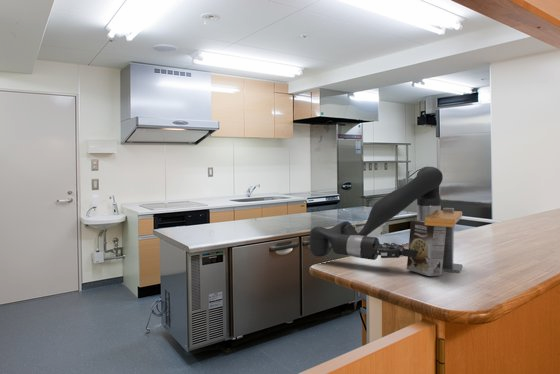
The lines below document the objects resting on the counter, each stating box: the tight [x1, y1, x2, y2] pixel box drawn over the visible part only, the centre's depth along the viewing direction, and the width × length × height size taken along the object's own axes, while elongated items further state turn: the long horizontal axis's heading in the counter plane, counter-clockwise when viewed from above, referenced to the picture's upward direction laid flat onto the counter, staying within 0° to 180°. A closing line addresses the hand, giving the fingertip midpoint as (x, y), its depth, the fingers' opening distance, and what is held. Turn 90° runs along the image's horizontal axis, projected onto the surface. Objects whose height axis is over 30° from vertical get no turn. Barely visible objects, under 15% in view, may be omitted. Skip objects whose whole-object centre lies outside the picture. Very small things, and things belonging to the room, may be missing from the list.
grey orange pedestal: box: [425, 207, 463, 274], centre depth 119 cm, size 8×22×20 cm, turn 148°
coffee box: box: [406, 219, 446, 277], centre depth 120 cm, size 9×6×16 cm
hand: (415, 253), depth 118 cm, fingers closed
